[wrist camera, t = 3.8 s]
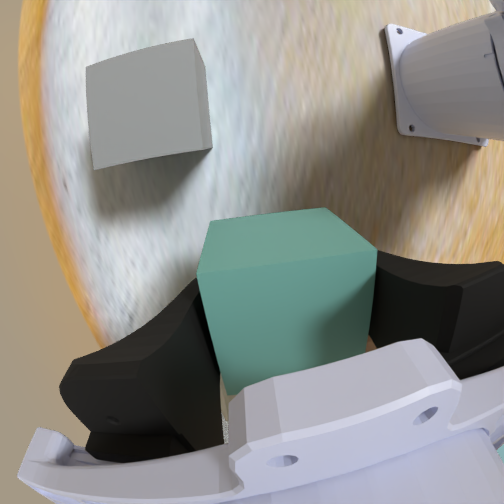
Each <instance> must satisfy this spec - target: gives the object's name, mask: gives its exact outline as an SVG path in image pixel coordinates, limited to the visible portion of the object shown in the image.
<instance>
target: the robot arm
mask: <svg viewBox="0 0 504 504" xmlns="http://www.w3.org/2000/svg"><path fill="white" fill-rule="evenodd" d="M490 2H491V4H492V5H493V7H494V8H495V9H496V11H495V12H493V13H489V14H486V15H482V16H479V17H476V18H472V19H469V20H466V21H463V22H460V23H457V24H454V25H451V26H449V27H446V28H443V29H441V30H438V31H435V32H433V33H430V34H425V33H422V32H419V31H416V30H413V29H409V28H406V27H402V26H398V25H394V24H388V25H386V26H385V34H386V39H387V44H388V50H389V56H390V62H391V69H392V77H393V85H394V94H395V105H396V118H397V129H398V131H399V133H400V134H402V135H408V136H418V137H427V138H435V139H443V140H450V141H456V142H462V143H468V144H473V145H479V146H484V147H486V146H487V145H488V139H493V140H500V141H504V0H490ZM396 30H398V31H399V32H400V34H398V33H397V31H396ZM410 125H411V127H412V131H410V130H409V126H410ZM476 137H477V139H476ZM368 335H369V336H370V338H371V339H372V341H373V343H374V345H375V346H376V348H377V349H375V350H372V351H369V352H366V353H363V354H360V355H357V356H353V357H350V358H347V359H343V360H340V361H336V362H333V363H329V364H325V365H321V366H318V367H314V368H310V369H306V370H301V371H297V372H293V373H288V374H284V375H279V376H274V377H271V378H268V379H266V380H263V381H261V382H258V383H255V384H252V385H250V386H247V387H245V388H243V389H242V390H241V391H240V392H239V393H238V394H237V395H236V396H235V397H234V398H233V399H232V400H231V401H230V402H229V421H228V422H229V423H228V429H229V443H226V444H224V438H223V428H222V415H221V399H220V373H221V372H220V368H219V365H218V361H217V357H216V354H215V350H214V346H213V342H212V338H211V334H210V330H209V326H208V322H207V318H206V314H205V310H204V306H203V302H202V297H201V293H200V289H199V284H198V280H197V278H195V279H194V280H193V281H192V282H191V283H190V284H189V285H188V286H187V287H186V288H185V289H184V290H183V291H182V292H181V293H180V294H179V295H178V296H177V297H176V298H175V299H174V300H173V301H172V302H171V303H170V304H169V305H168V306H167V307H165V308H164V309H163V310H162V311H161V312H160V313H159V314H158V315H157V316H155V317H154V318H153V319H152V320H150V321H149V322H148V323H146V324H145V325H144V326H142V327H141V328H139V329H138V330H136V331H135V332H133V333H131V334H130V335H128V336H126V337H125V338H123V339H121V340H120V341H118V342H116V343H114V344H112V345H110V346H108V347H106V348H103V349H101V350H99V351H96V352H94V353H91V354H88V355H86V356H83V357H80V358H77V359H74V360H73V361H72V363H71V365H70V367H69V369H68V370H67V372H66V374H65V376H64V377H63V379H62V381H61V383H60V386H59V388H60V394H61V396H62V398H63V400H64V402H65V404H66V405H67V406H68V408H69V409H70V410H71V411H72V412H73V413H74V414H75V415H76V417H77V418H78V419H79V420H80V421H81V422H82V423H83V424H84V425H85V426H86V427H87V428H88V429H89V430H90V431H91V433H90V436H89V439H88V441H87V444H86V447H81V446H76V445H74V444H73V443H72V442H71V441H70V440H69V439H68V438H67V437H66V436H65V435H63V434H62V433H60V432H58V431H55V430H50V429H45V428H41V427H38V428H37V429H36V431H35V434H34V436H33V438H32V440H31V442H30V445H29V447H28V449H27V452H26V454H25V456H24V459H23V461H22V464H21V466H20V469H19V471H18V474H17V477H18V479H20V480H21V481H22V482H24V483H25V484H27V485H28V486H29V487H31V488H32V489H34V490H35V491H37V492H38V493H40V494H41V495H43V496H44V497H46V498H48V499H49V500H51V501H53V502H54V503H56V504H504V464H503V462H502V460H501V458H500V456H499V455H498V453H497V451H496V450H497V449H498V448H499V447H501V446H502V445H503V444H504V264H502V263H501V262H499V261H493V262H485V263H476V264H442V263H431V262H424V261H418V260H412V259H407V258H403V257H400V256H396V255H392V254H389V253H385V252H382V251H379V250H377V262H376V274H375V285H374V294H373V303H372V311H371V319H370V326H369V332H368Z"/></svg>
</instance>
